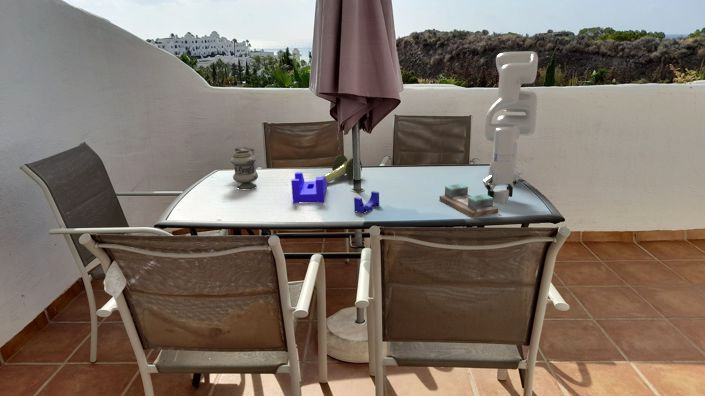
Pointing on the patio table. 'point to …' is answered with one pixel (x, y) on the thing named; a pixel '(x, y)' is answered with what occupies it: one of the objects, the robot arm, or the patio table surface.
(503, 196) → the small box
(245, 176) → the apothecary jar
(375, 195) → the blue u-shaped piece
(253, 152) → the grey brown jug
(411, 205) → the patio table surface
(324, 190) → the bracket
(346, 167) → the cannon
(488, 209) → the board
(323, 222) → the patio table surface
